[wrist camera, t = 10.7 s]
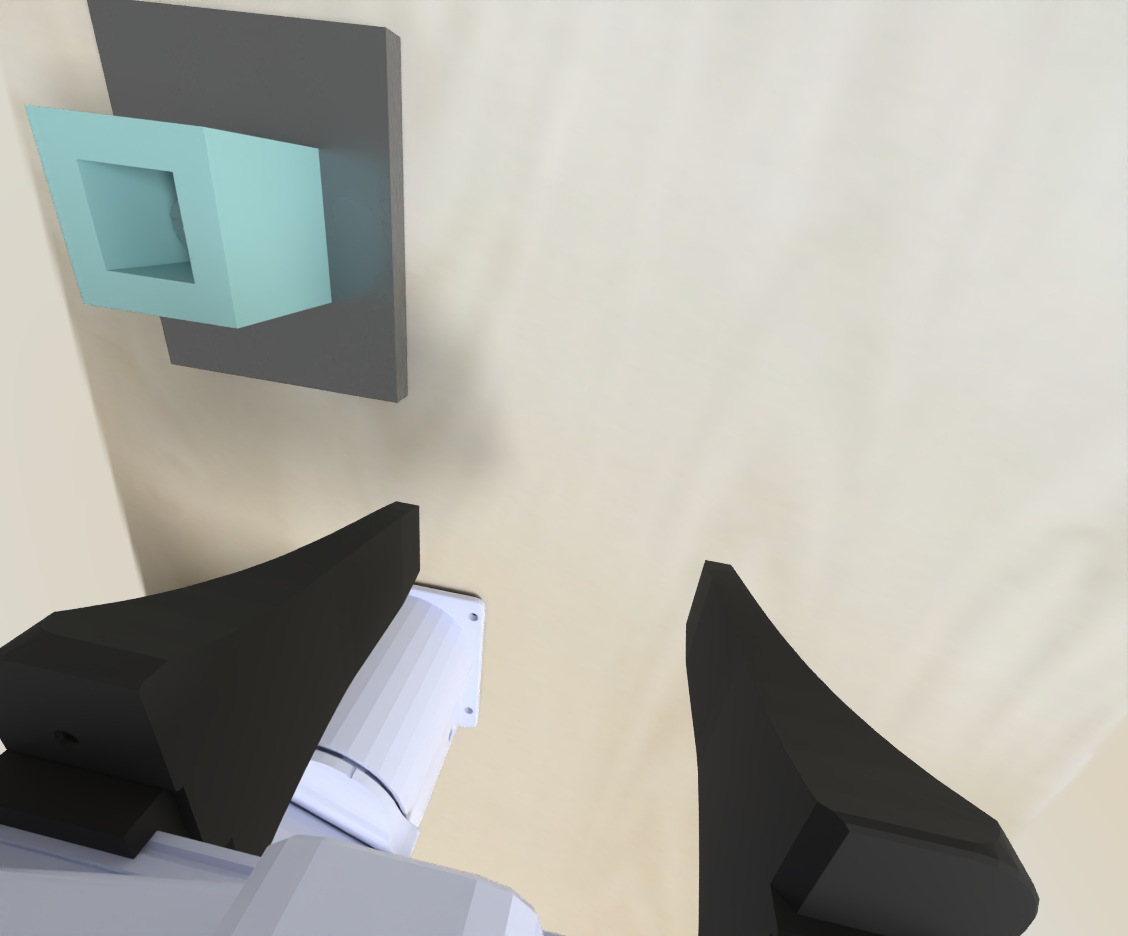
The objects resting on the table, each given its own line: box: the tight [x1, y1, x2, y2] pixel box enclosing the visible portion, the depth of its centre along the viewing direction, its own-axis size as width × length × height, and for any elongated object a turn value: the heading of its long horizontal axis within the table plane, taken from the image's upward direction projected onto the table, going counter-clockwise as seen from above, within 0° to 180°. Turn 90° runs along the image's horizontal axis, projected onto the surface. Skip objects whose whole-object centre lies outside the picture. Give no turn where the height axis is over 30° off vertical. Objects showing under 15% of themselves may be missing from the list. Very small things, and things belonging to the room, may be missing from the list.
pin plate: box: [87, 0, 408, 403], centre depth 18 cm, size 12×10×4 cm
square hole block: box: [25, 105, 332, 329], centre depth 17 cm, size 5×5×5 cm
